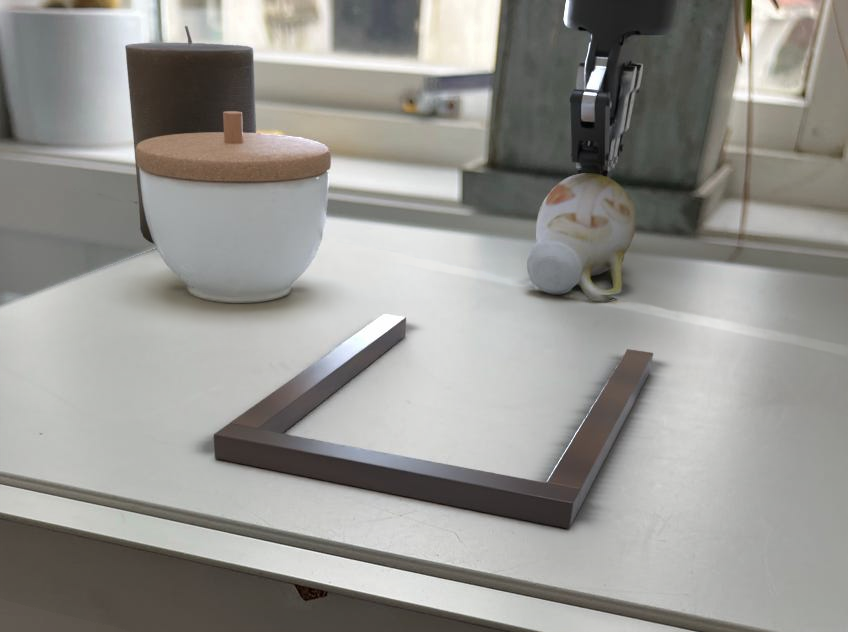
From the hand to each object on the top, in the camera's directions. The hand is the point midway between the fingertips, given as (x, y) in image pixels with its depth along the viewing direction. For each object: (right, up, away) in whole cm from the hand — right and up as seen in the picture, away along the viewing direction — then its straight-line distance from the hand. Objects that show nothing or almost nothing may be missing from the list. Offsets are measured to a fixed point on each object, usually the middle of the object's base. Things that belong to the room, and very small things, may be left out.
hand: (586, 222), depth 77 cm
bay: (-12, -20, -25) cm, 34 cm away
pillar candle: (-31, +1, +6) cm, 31 cm away
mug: (-2, -6, -3) cm, 7 cm away
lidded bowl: (-26, -8, -7) cm, 28 cm away
